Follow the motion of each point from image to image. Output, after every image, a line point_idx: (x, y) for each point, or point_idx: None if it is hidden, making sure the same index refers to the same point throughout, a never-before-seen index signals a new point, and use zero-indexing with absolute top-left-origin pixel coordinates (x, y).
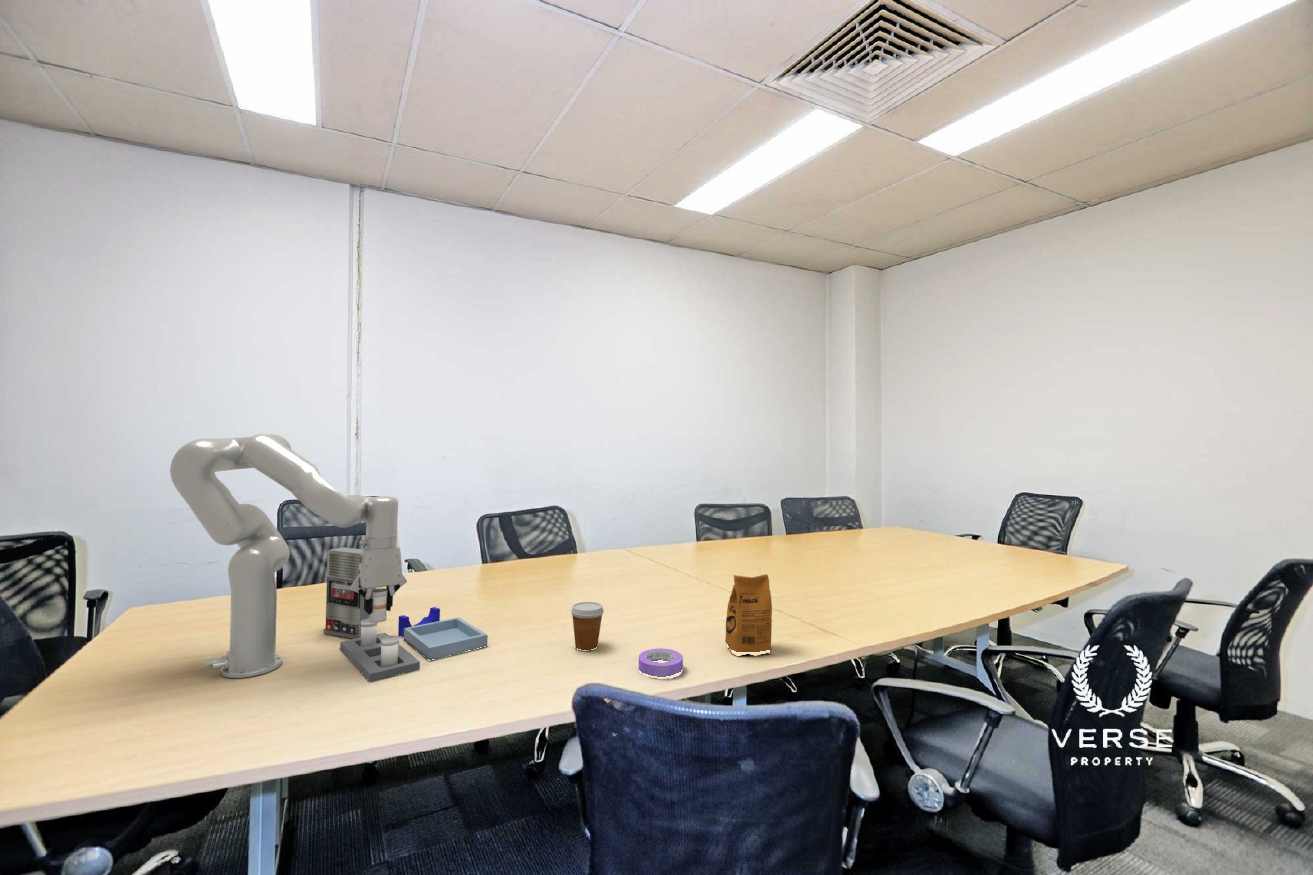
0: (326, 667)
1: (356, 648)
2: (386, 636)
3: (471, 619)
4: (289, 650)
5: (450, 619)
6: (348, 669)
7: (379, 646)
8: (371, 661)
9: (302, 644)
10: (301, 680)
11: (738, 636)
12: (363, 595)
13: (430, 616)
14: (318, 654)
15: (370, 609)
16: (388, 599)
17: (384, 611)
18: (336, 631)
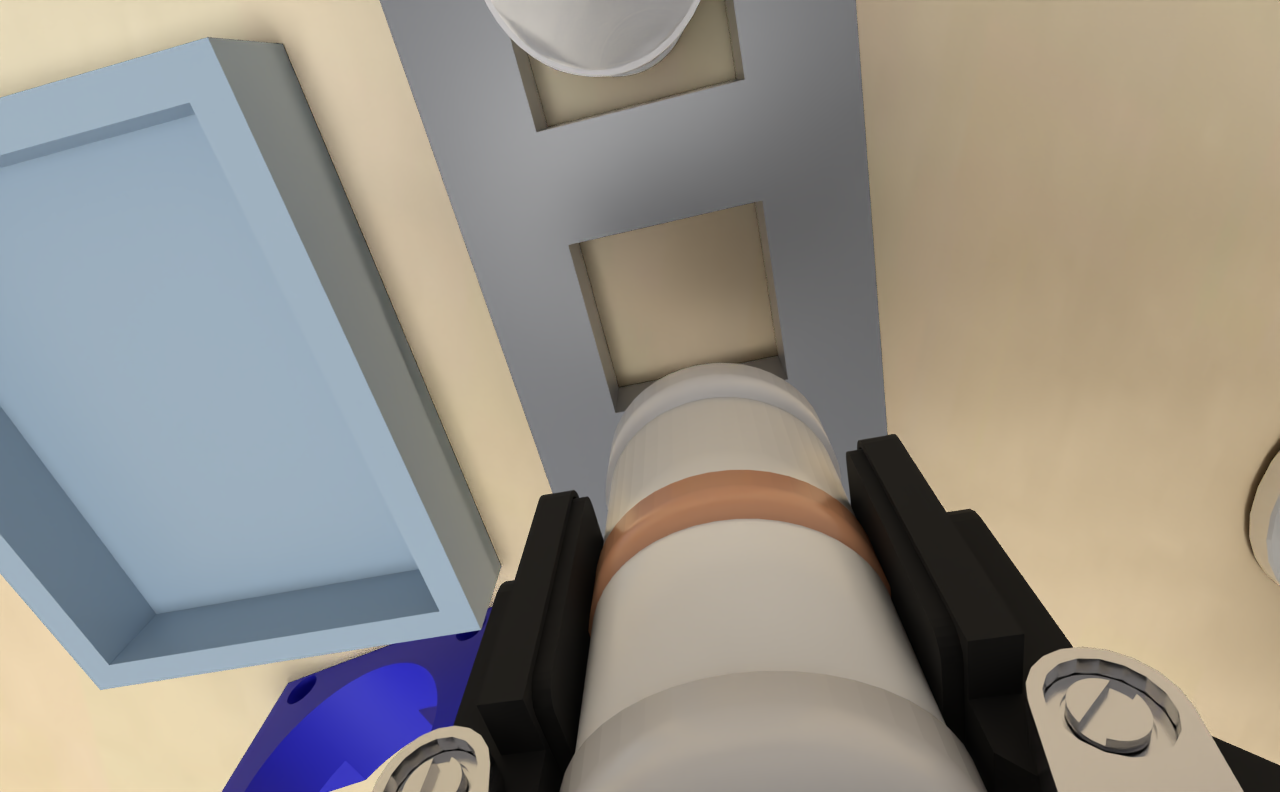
0: (1039, 287)
1: None
2: (632, 59)
3: (103, 727)
4: (1139, 660)
5: (153, 670)
6: (912, 167)
7: None
8: (764, 77)
9: None
10: (1276, 82)
11: None
12: (1272, 786)
13: (310, 763)
14: (1019, 541)
15: (899, 476)
16: (550, 644)
17: (638, 471)
18: None
